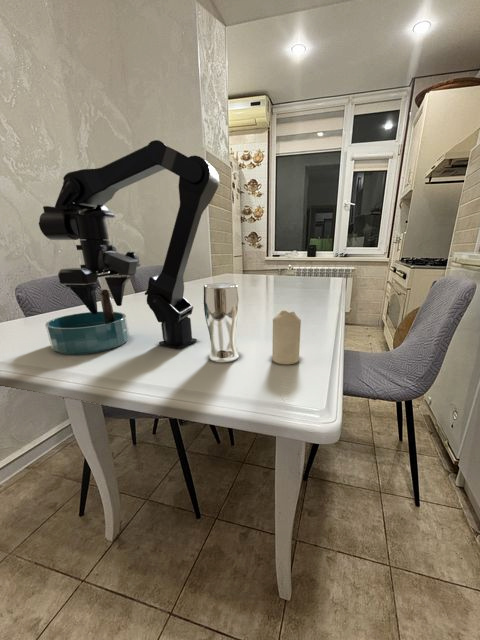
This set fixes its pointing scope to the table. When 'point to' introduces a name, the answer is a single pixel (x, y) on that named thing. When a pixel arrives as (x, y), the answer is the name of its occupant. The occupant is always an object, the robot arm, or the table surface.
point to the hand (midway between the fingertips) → (107, 309)
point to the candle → (286, 338)
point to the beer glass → (222, 320)
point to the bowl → (86, 333)
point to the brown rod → (107, 306)
